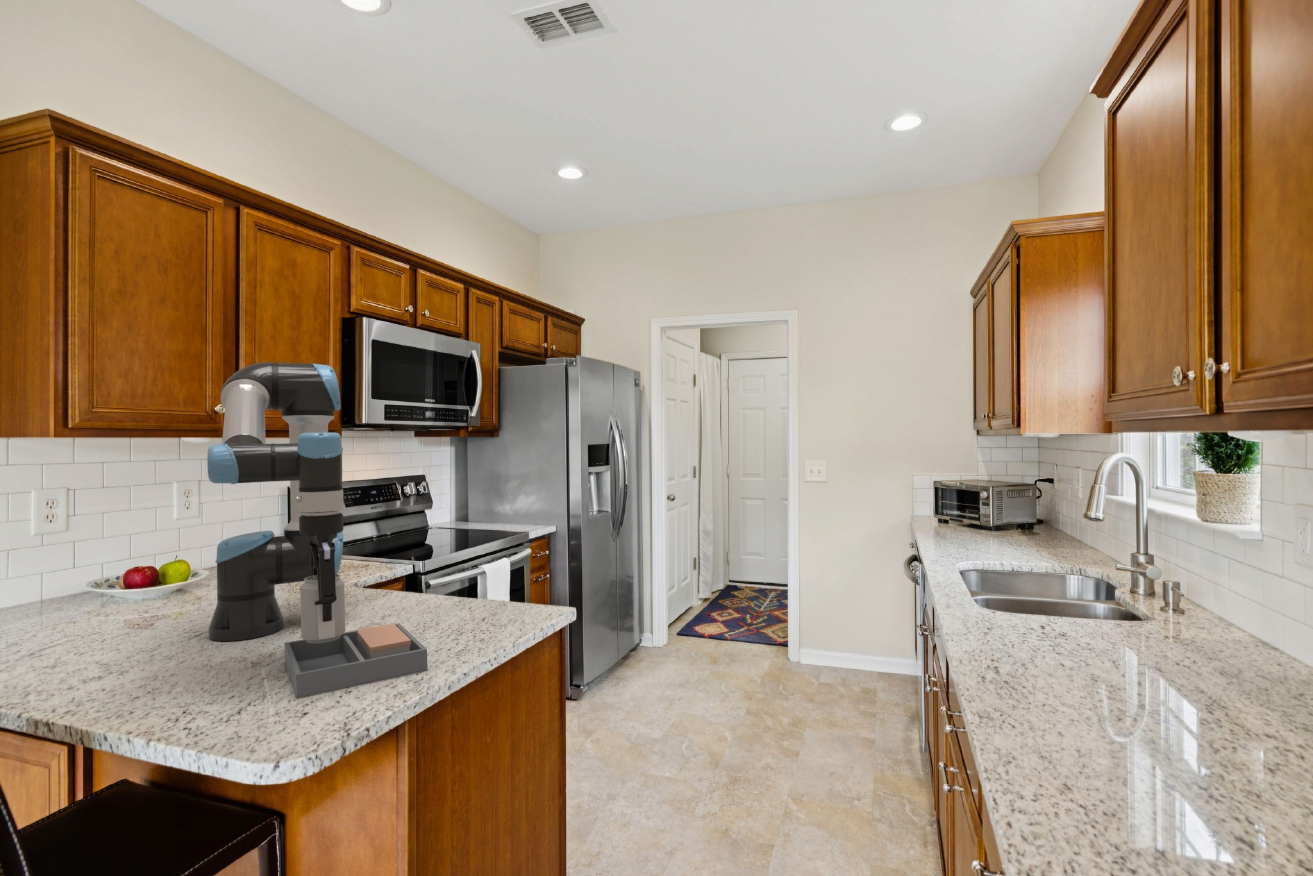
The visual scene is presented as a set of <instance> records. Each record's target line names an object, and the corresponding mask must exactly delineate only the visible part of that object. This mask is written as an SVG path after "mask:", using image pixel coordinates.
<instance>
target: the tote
mask: <svg viewBox="0 0 1313 876" xmlns="http://www.w3.org/2000/svg"><path fill="white" fill-rule="evenodd" d="M394 624H395V625H396V626H397V627H398V628H399V629H400V630H401V631H402V632H403V633H404V634H405V635H406V636H407V637H408V638H409V639H410V640H411V644H410V651H409V652H404V653H399V654H394V655H389V656H383V657H378V658H373V659H368V660H365V659H364V658H363V657H362V655H361V654H360V653H359V651H358V643H357V634H356V630H353V631H345V632H344V634H342V635H341V637H340V638H338V639H336V640H334V641H330V642H325V643H308V642H306V641H305V640H304V639H299V640H298V639H297V640H294V641H293V640H292V641H287V642H284V643H283V645H284V646H283V647H284V654H283V655H284V665H285V667H286V671H287V674H288V677H289V680H290V683H291V687H292V689H293V691H294V694H295V697H296V699H300V698H301V699H302V698H304V697H309V696H314V695H319V694H324V693H329V692H333V691H336V690H337V691H338V690H343V689H347V688H351V687H356V686H360V685H365V684H371V683H374V682H375V683H376V682H379V681H385V680H390V679H394V678H399V677H403V676H407V675H413V674H418V673H421V672H426V671H427V672H428V649H427V648H426V647H425V646H424V645H423V644H422V643H421V642H420V641H419V640H418V639H417V638H415V636H414V635H413V634H412V633H411V632H409V631H408V629H406V628H405V627H404V626H403V625H402V624H401V623H394Z"/></svg>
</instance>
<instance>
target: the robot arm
mask: <svg viewBox="0 0 1313 876" xmlns="http://www.w3.org/2000/svg"><path fill="white" fill-rule="evenodd" d="M220 403H221V405H222V407H223V409H224V418H223V428H222V429H223V431H222V442H221V443H220V444H213V445H210V446H209V447H208V449H207V459H206V460H207V461H206V462H207V478H208V480H209V482H211V483H213V484H230V485H235V484H246V483H247V484H249V483H267V482H270V483H271V482H289V484H290V485H289V488H290V489H289V490H290V497H289V498H290V520H289V523H287V525H286V526H284V528H283V535H279V536H276V535H275V533H274V531H272V530H262V531H254V532H249V533H243V534H239V535H236V536H232V537H228V538H226V539H223V540H221V541H220V542H219V543H218V545H217V547H216V559H215V564H216V594H217V595H216V596H217V598H216V599H217V602H216V607H215V609H214V612H213V615H212V617H211V622H210V624H209V625H208V638H209V639H210V640H212V641H216V642H217V641H218V642H235V641H243V640H251V639H255V638H260V637H264V636H269V635H271V634H274V633H276V632H279V631H280V630H282V629H284V626H285V625H284V619H285V618H284V615H283V613H282V610H281V608H280V606H279V602H278V601H277V598H276V595H275V593H276V591H275V589H276V587H275V586H276V585H283V584H284V585H285V584H292V583H293V584H294V583H300V582H305V581H304V579H305V578H306V577H309V576H313V575H317V578H318V593H319V600H318V601H315V605H318V639H319V640H320V639H326V638H332V637H335V606H334V601H336V599H337V596H336V584H335V574H339V571H340V567H341V563H342V557H343V549H344V533H343V531H344V514H343V513H342V512H341V511H343V510H344V488H343V450H344V448H343V445H342V444H343V443H342V436H341V435H340V433H338V432H329V428H328V427H329V423H330V422H331V421H332V420H334V418H335V412H337V411H338V412H339V411H340V410H341V407H342V406H341V393H340V387H339V382H338V377H337V374H336V372H335V370H334V368H333V367H332V366H330V365H328V364H319V363H301V362H299V363H298V362H295V363H293V362H292V363H291V362H269V361H267V362H265V361H264V362H257V363H254V364H253V363H252V364H249V365H248V366H244V367H243V368H241V369H239V370H237V371H236V372H234V373H233V374H232V375H231V376H230V377H228V378H227V380H226V381H225V382H224V383H223V385H222V387H221V391H220ZM266 411H281V418H282V420H283V421H285V422H286V423H287V424H288V429H289V430H288V431H289V432H288V437H289V442H288V443H266ZM329 594H330V595H329ZM325 595H327V596H325Z"/></svg>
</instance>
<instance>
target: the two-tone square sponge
mask: <svg viewBox="0 0 1313 876" xmlns="http://www.w3.org/2000/svg"><path fill="white" fill-rule="evenodd" d="M395 624H396V623H388V624H387V623H386V624H382V625H381V624H380V625H376V626H371V627H365V628H358V629H355V631H356V634H357V643H358V651H359V653H360V654H361V655H362V657H363V658H364V659H365V660H368V659H373V658H378V657H383V656H389V655H394V654H399V653H404V652H409V651H410V644H411V640H410V639H409V638H408V637H407V636H406V635H405V634H404V633H403V632H402V631H401V630H400V629H399V628H398V627H397V626H396V625H395Z"/></svg>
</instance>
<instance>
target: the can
mask: <svg viewBox="0 0 1313 876" xmlns="http://www.w3.org/2000/svg"><path fill="white" fill-rule="evenodd" d="M335 584H336V596H337V599H336V601H334V606H335V637H332V638H326V639H320V640H319V639H318V605H315V601H318V600H319V593H318V578H317V575H313V576H309V577H306V578H305V579H304V581H303V583H302V584H301V585H300V590H299V591H300V593H299V594H300V597H299V598H300V634H301V637H300V638H301V640H303V639H304V640H305V641H306V642H308V643H325V642H330V641H334V640H336V639H338V638H340V637H341V635H342V634H344V633H345V632H346V603H345V601H346V600H345V599H346V598H345V597H346V596H345V595H346V594H345V582H344V581H343V579H341V575H340V574H339V573H337V574H335ZM329 595H330V594H329ZM325 596H327V595H325Z"/></svg>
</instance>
